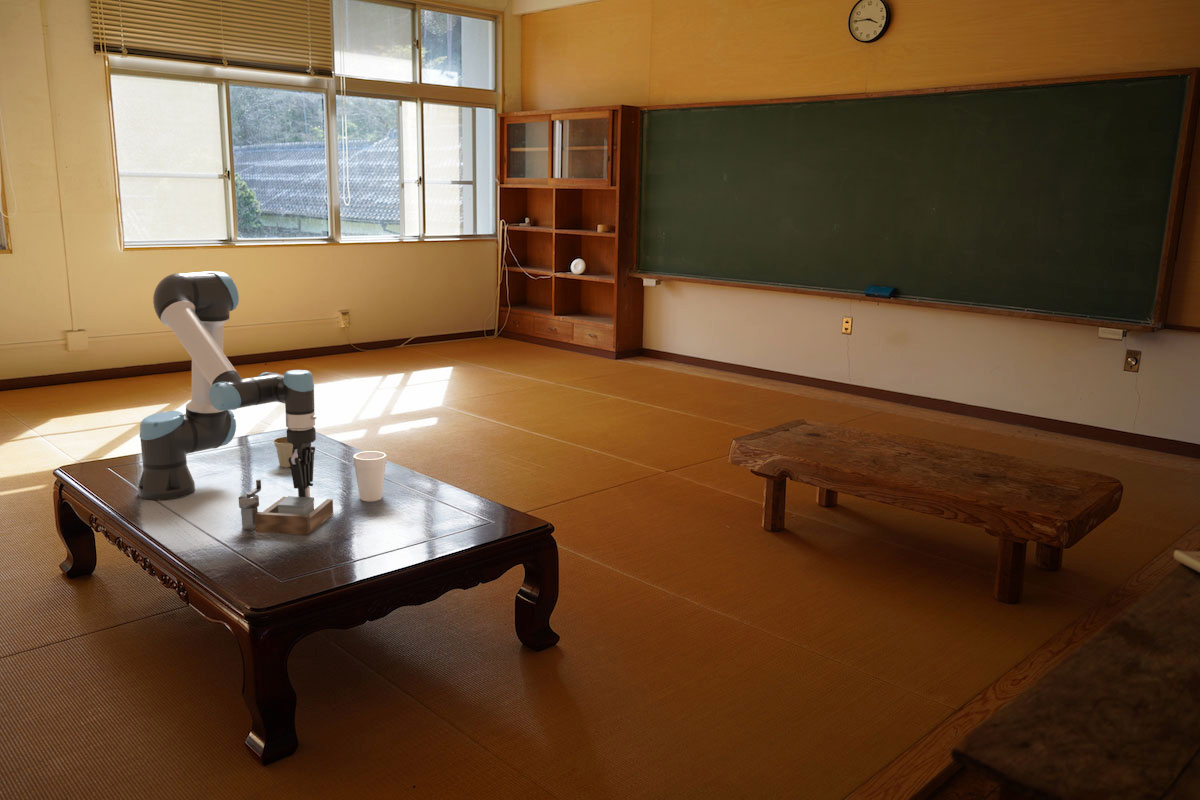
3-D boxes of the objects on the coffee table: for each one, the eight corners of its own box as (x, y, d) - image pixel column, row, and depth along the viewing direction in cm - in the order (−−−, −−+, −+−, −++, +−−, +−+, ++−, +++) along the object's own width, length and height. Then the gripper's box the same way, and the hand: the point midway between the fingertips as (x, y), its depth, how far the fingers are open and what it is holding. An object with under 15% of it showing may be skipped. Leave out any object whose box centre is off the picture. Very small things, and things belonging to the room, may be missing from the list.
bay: (255, 532, 242) (254, 513, 241) (284, 510, 259) (283, 493, 258) (307, 535, 241) (307, 516, 239) (333, 512, 258) (332, 495, 257)
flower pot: (299, 469, 297) (298, 443, 295) (270, 469, 297) (268, 443, 295) (308, 461, 306) (307, 436, 304) (280, 461, 306) (279, 435, 304)
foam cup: (393, 496, 273) (392, 453, 271) (374, 505, 265) (372, 461, 262) (368, 491, 277) (366, 449, 275) (347, 499, 269) (346, 457, 266)
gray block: (278, 525, 247) (277, 504, 245) (289, 516, 254) (288, 496, 252) (304, 527, 246) (303, 505, 245) (314, 518, 253) (314, 497, 252)
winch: (236, 530, 243) (234, 489, 240) (252, 518, 252) (250, 479, 249) (255, 531, 242) (252, 490, 240) (270, 519, 251) (268, 480, 249)
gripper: (304, 433, 244) (308, 518, 249) (323, 422, 256) (326, 503, 261) (277, 432, 244) (281, 517, 249) (297, 421, 257) (301, 501, 262)
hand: (304, 509), depth 255 cm, fingers closed
